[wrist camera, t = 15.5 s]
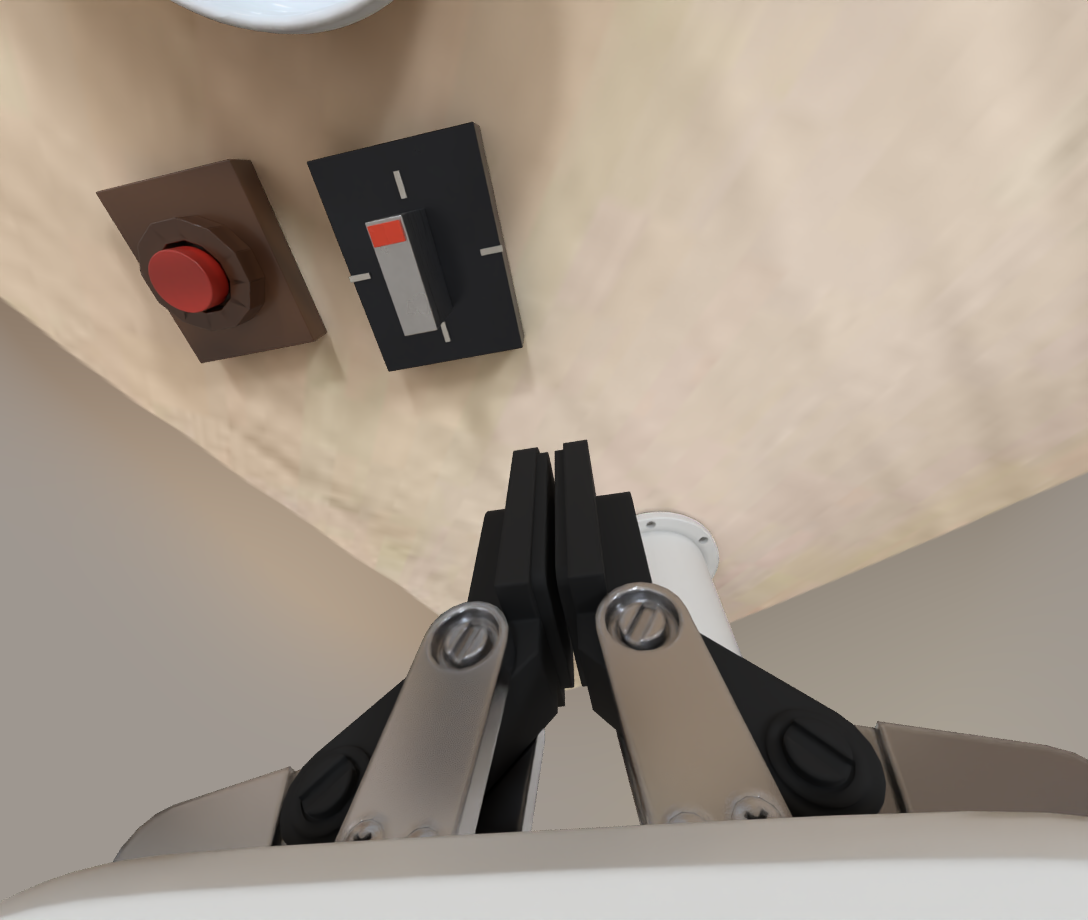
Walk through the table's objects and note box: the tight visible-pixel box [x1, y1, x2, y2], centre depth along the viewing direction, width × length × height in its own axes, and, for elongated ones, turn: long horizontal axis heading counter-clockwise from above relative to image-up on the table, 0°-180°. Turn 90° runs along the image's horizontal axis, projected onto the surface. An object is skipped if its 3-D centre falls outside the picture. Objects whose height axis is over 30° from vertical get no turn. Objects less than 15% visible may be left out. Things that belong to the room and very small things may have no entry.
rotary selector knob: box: [365, 209, 453, 336], centre depth 27 cm, size 6×2×5 cm, turn 11°
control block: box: [96, 159, 327, 363], centre depth 30 cm, size 11×9×4 cm
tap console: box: [307, 122, 524, 372], centre depth 30 cm, size 13×10×3 cm
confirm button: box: [148, 246, 229, 313], centre depth 28 cm, size 4×4×2 cm
